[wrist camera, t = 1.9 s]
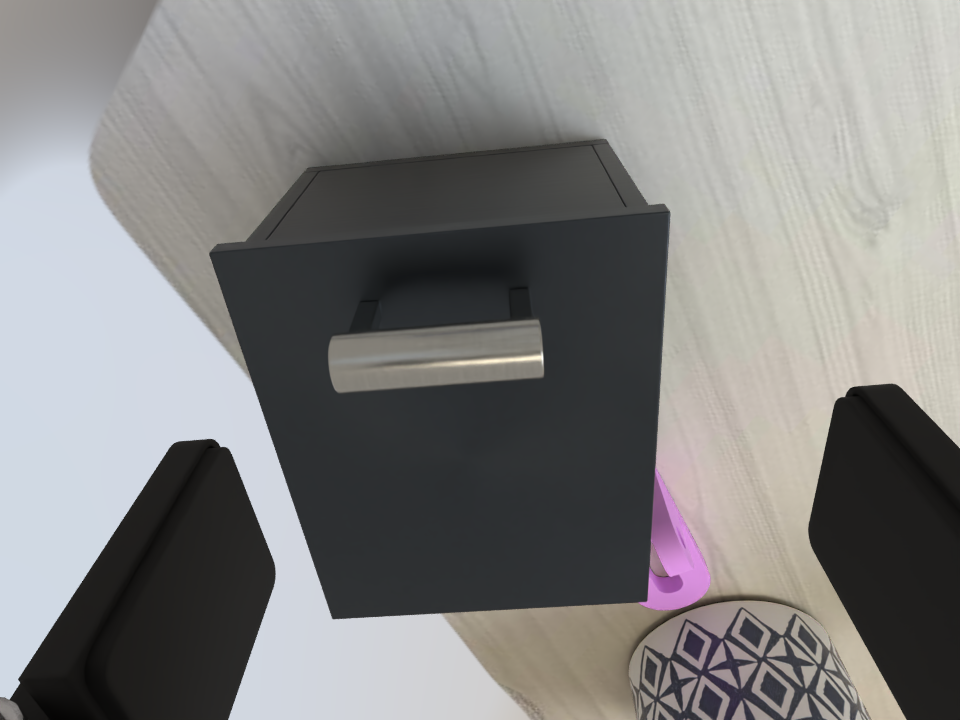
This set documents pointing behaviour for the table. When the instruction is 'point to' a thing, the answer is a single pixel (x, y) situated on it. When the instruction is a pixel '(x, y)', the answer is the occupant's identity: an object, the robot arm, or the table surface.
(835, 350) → the table surface
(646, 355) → the bin lid
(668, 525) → the bracket
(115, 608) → the robot arm
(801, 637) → the planter
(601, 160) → the black storage bin
